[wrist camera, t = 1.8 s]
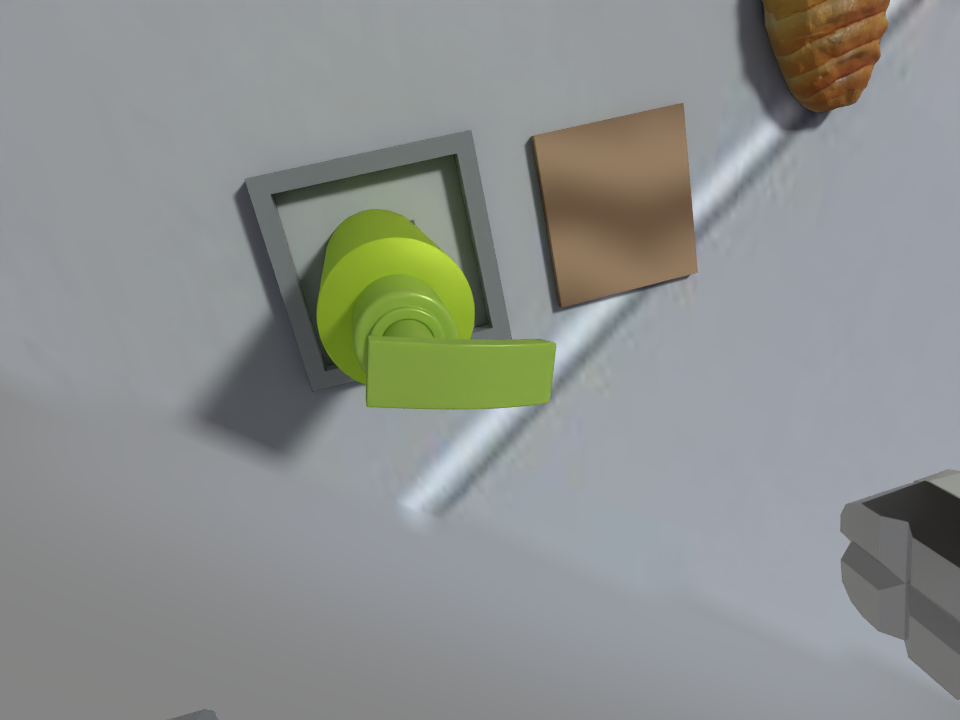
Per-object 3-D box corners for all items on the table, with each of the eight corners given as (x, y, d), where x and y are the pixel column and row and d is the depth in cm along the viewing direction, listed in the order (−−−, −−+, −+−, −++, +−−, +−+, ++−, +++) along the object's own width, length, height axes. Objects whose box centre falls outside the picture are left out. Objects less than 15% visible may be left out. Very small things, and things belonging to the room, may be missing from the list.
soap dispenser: (444, 315, 37) (547, 472, 19) (324, 311, 36) (306, 477, 17) (451, 214, 36) (571, 275, 17) (325, 205, 34) (306, 263, 16)
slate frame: (247, 178, 33) (244, 178, 32) (467, 130, 35) (471, 130, 34) (313, 386, 37) (312, 392, 36) (507, 335, 39) (512, 339, 38)
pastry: (870, 91, 39) (923, 84, 35) (773, 129, 38) (816, 127, 35) (852, -80, 36) (908, -106, 32) (745, -41, 35) (790, -62, 32)
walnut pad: (531, 136, 35) (533, 136, 35) (679, 103, 37) (683, 103, 36) (559, 305, 39) (561, 307, 38) (693, 271, 40) (697, 272, 39)
